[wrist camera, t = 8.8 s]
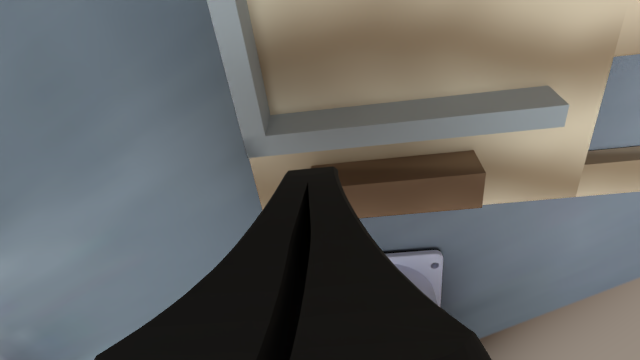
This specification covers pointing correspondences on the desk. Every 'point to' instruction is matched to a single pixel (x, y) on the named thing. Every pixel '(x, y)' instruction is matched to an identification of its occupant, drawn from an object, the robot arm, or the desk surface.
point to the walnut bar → (413, 184)
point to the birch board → (453, 80)
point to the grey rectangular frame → (364, 106)
